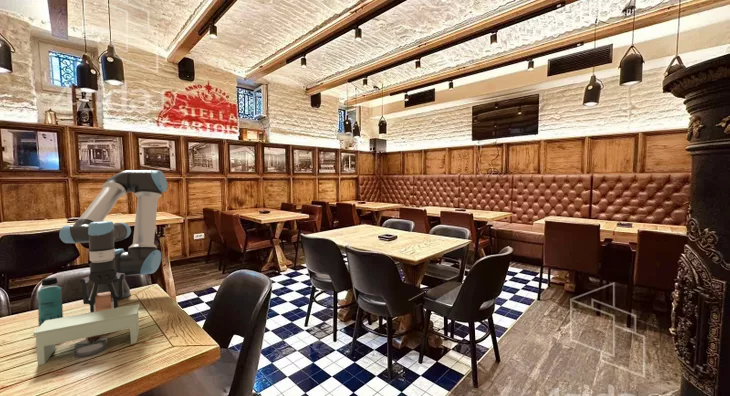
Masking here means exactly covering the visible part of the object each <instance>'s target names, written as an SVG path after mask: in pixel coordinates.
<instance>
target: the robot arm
mask: <svg viewBox="0 0 730 396" xmlns="http://www.w3.org/2000/svg"><path fill="white" fill-rule="evenodd" d="M101 189H102V190H100V192H99V193H98V194H97V196H96V197H95V198H94V199H93V201H92V202H91V203H90V204H89V206H88V207H87V208H86V209H85V211H84V212H82V214H81V215H80V217H79V218H78V219H77V220H76V221H75V222H74V224H68V225H67V224H66V225H64V226H62V227H61V229H60V230H59V239H60V240H61V241H62V242H63V243H64V244H83V243H84V244H85V243H88V246H89V247H88V249H89V254H88V255H89V261H90V263H89V275H88V276H87V277H82V278H80V280H79V283H80V284H81V285H82V286H81V287H82V301H83V302H82V303H83V305H89V308H90V309H89V311H90V312H89V313H91V312H96V302H95V297H96V295H97V294H98V293H104V292H111V295H112V298H113V300H112V301H111V309H113V308H119V301H120V300H123V299H126V298H127V297H130V295H131V289H130V287H129V284H128V283H127V280H126V277H129V276H146V275H152V274H154V273H156V271H157V270H158V269H159V267H160V265H161V261H162V253H161V251H160V250H158V247H157V246H156V244H155V235H156V224H157V213H158V212H157V211H158V202H159V201H158V200H159V199H160V198H161V197H162V195H163V194H162V193H165V192H166V191H167V190H168V181H167V178H166V175H165V174H164V172H163V171H161V170H159V169H157V170H155V169H154V170H153V169H149V170H148V169H127V170H123V171H120V172H118V173H116V174H114V175H113V176H111V177H109V178H108V179H107V180H106V181H105V182H104V183H103V184H102V186H101ZM129 193H134V196H136V198H137V202H136V212H135V219H134V230H133V239H132V244H131V245H130V246H128V248H127V249H128V250H127V251H125V250H124V248H118V249H117V248H115V243H116V242H120V241H123V240H125V239H127V238H129V237H130V235H131V233H132V229H131V226H130V225H128V224H127V223H125V222H115V223H114V221H111V220H105V218H107V216H108V214H109V213H110V212H111V210H112V209H113V207H114V206H115V205H116V204H117V202H118V201H119V199H120V198H123V197H124V196H125V195H126V194H129ZM104 220H105V221H104ZM89 281H92V283H93V286H92V288H91V292H90V293H89Z"/></svg>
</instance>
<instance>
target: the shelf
mask: <svg viewBox="0 0 730 396" xmlns="http://www.w3.org/2000/svg"><path fill="white" fill-rule="evenodd" d="M140 305H141V304H140V303H137V304H131V305H125V306H120V307H119V306H118V307H117V308H113V309H107V310H102V311H96V312H86V313H79V314H73V315H70V316H69V315H68V316H63V317H62V318H57V319H51V320H45V321H44V323H43V324H42V325H41V326H40V327H39V326H38V328H37V329H36V330H35V331H34V332H33V333H32V334H33V336H35V342H36V359H37V366H42V365H45V364H46V363H47V361H48V360H49V359H50V357H51V356H52V355H53V353H54V352H55V350H56V349H57V348H56V345H57V344H62V343H63V344H64V343H67V342H71V341H77V340H81V339H87V337H92V336H96V335H101V336H102V335H105V334H109V333H115V332H120V331H125V330H129V332H130V344H131V345H133V344H136V343H137V341H138V337H139V333H140V322H139V321H140V320H139V310H140Z"/></svg>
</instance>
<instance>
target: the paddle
mask: <svg viewBox="0 0 730 396" xmlns="http://www.w3.org/2000/svg"><path fill="white" fill-rule="evenodd" d="M112 300H113V298H112V295H111V292H104V293H98V294H97V295H96V297H95V302H96V311H102V310H107V309H111V301H112ZM97 336H102V334H101V335H96V336H92V337H97ZM92 337H87V338H86V339H88V338H92Z"/></svg>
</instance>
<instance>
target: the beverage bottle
mask: <svg viewBox="0 0 730 396" xmlns="http://www.w3.org/2000/svg"><path fill="white" fill-rule="evenodd" d="M56 284H58V278H57V277H48V278H43V279H42V280H41V286H43V287H42V288H41V289H40V290H39V291H37V299H38V300H37V301H38V304H37V307H38V314H37V316H38V319H37V320H38V328H39V327H40V326H41V325H42V324H43V323H44V321H45V320H51V319H57V318H62V317H64V316H63V315H64V311H63V308H64V307H63V294H62V290H63V289H62V287H61V286H59V285H56Z"/></svg>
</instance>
